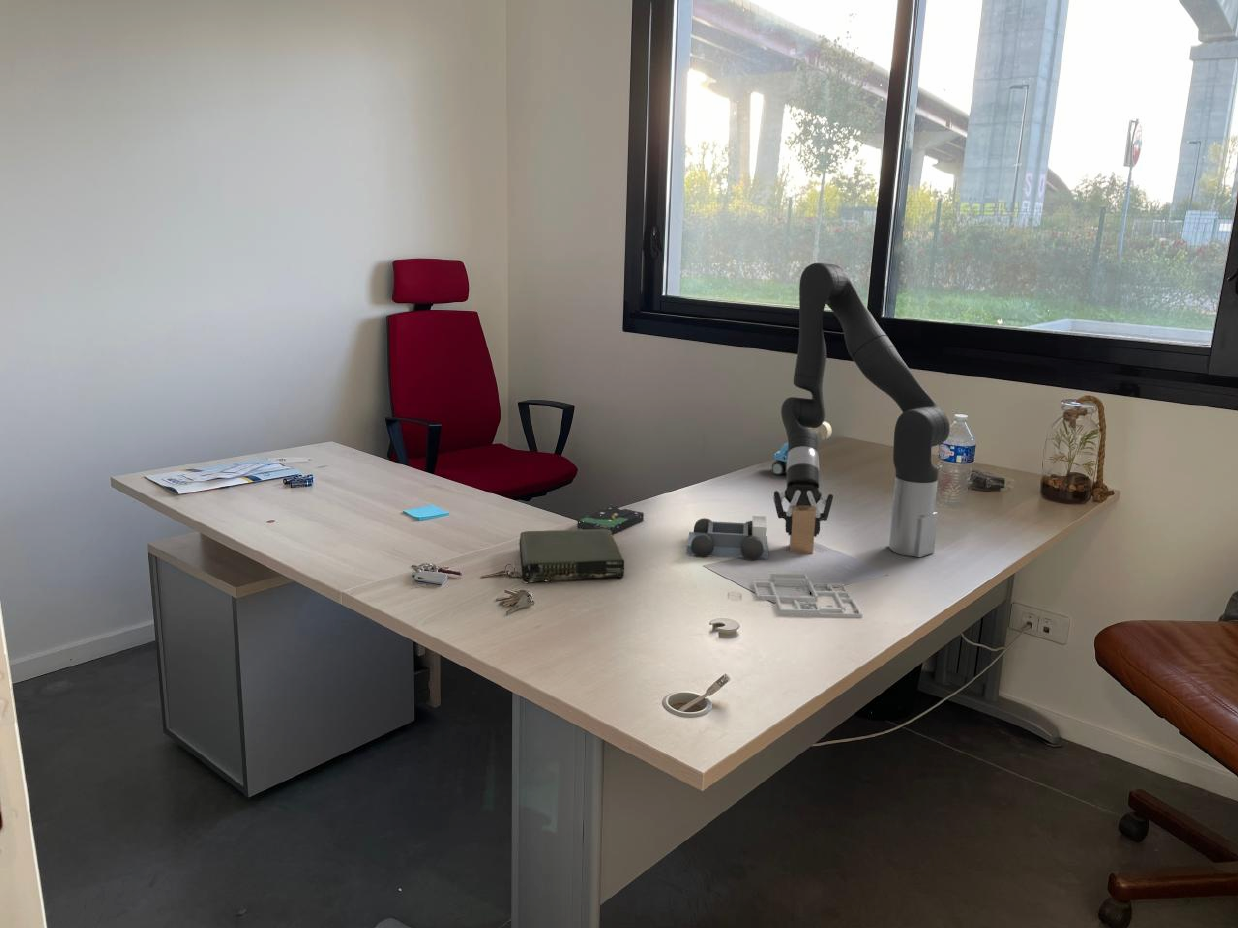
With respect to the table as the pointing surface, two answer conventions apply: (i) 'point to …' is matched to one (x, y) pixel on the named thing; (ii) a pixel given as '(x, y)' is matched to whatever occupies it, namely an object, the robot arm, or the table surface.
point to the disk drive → (611, 519)
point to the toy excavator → (782, 455)
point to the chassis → (729, 539)
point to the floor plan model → (801, 602)
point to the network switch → (569, 555)
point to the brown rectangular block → (802, 528)
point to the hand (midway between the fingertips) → (802, 534)
